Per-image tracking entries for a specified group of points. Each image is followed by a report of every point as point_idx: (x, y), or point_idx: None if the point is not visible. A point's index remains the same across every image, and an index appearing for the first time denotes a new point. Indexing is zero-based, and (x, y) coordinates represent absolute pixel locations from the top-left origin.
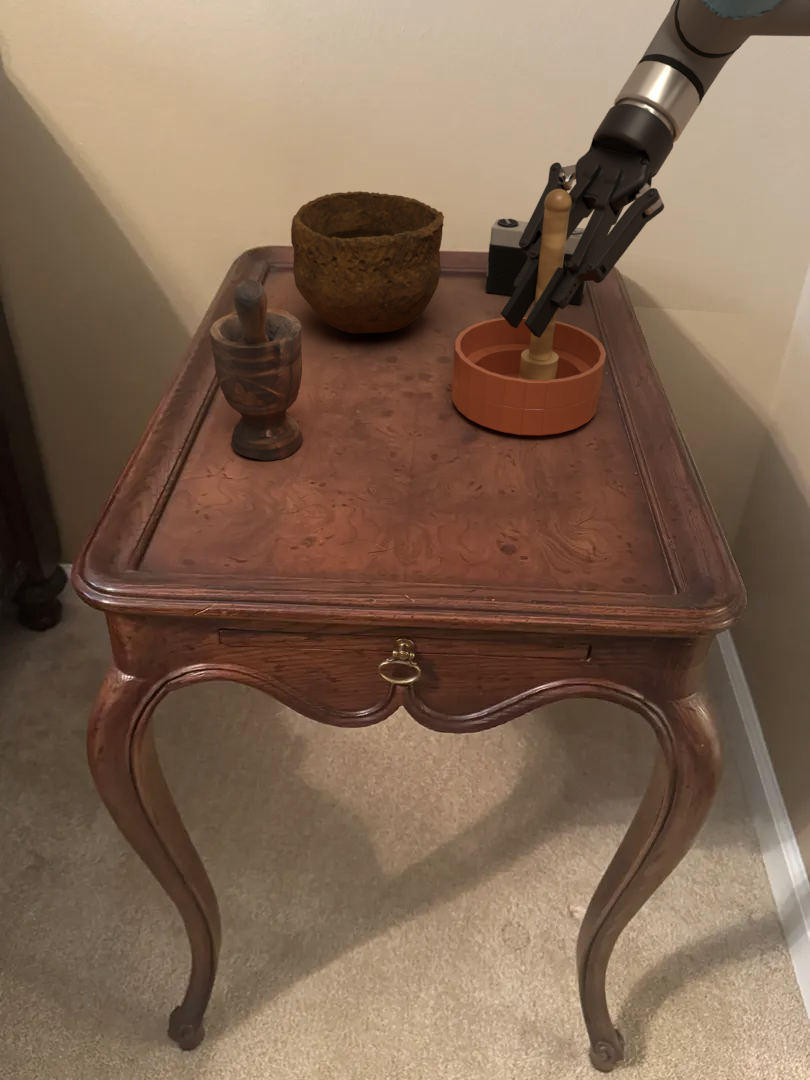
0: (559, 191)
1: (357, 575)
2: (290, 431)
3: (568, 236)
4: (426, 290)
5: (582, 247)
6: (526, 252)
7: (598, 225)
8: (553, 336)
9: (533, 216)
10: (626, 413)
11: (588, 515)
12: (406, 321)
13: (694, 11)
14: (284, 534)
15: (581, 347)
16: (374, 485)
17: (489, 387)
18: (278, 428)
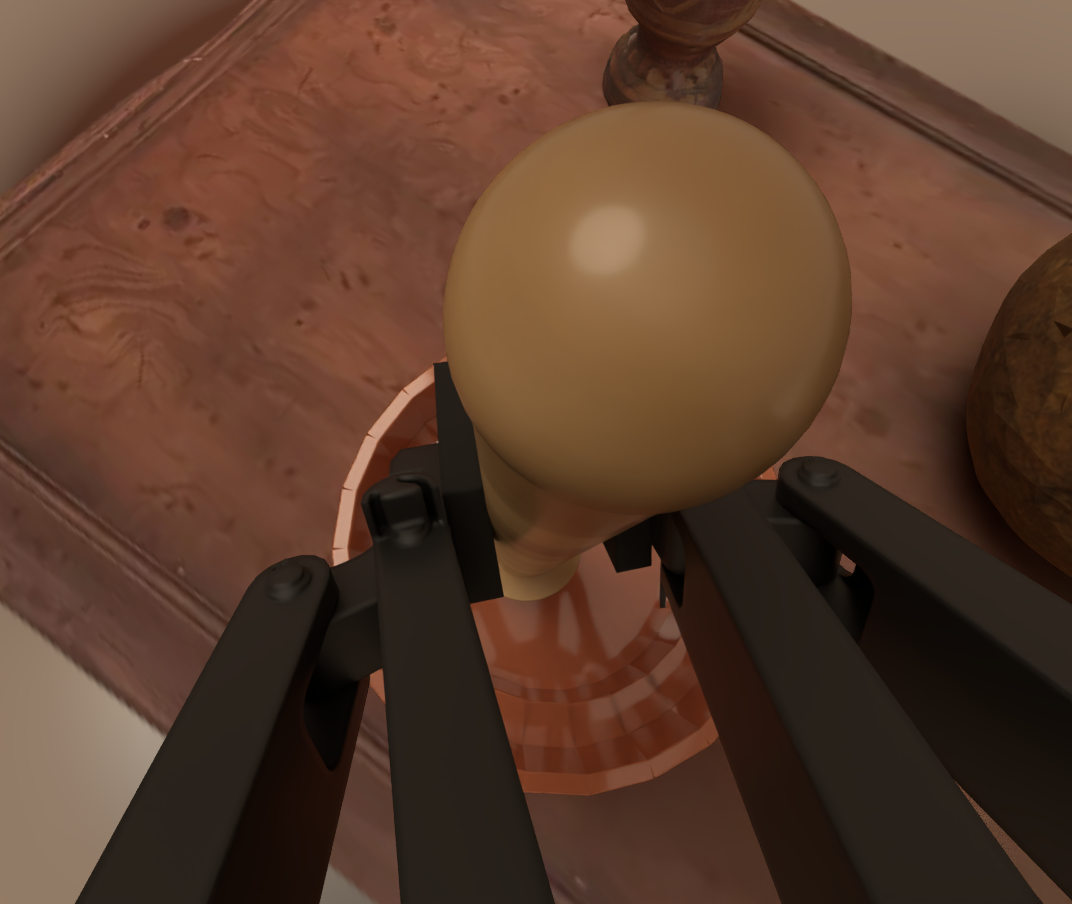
0: (619, 138)
1: (279, 35)
2: (633, 79)
3: (733, 766)
4: (1047, 491)
5: (422, 626)
6: (757, 482)
7: (398, 861)
8: (498, 558)
9: (1022, 589)
10: (380, 757)
11: (148, 384)
12: (976, 466)
13: None
14: (421, 10)
15: (560, 757)
16: (456, 155)
17: None
18: (635, 49)
